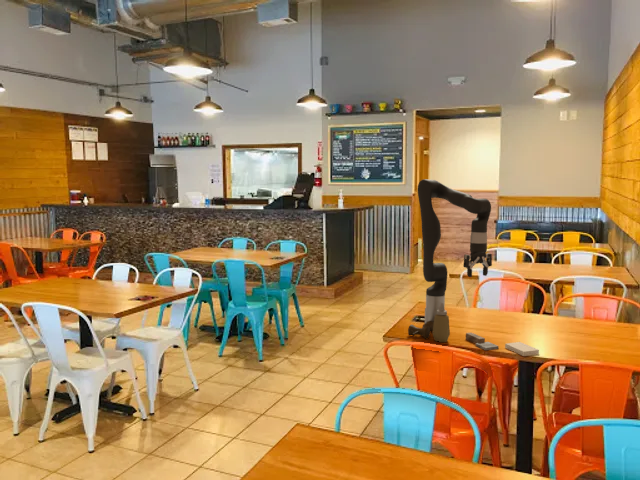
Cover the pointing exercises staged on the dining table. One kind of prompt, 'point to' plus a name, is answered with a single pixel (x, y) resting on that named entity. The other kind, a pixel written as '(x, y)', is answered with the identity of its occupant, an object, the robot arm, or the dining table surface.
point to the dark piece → (480, 342)
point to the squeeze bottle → (441, 325)
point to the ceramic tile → (522, 348)
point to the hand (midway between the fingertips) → (477, 276)
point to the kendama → (421, 329)
